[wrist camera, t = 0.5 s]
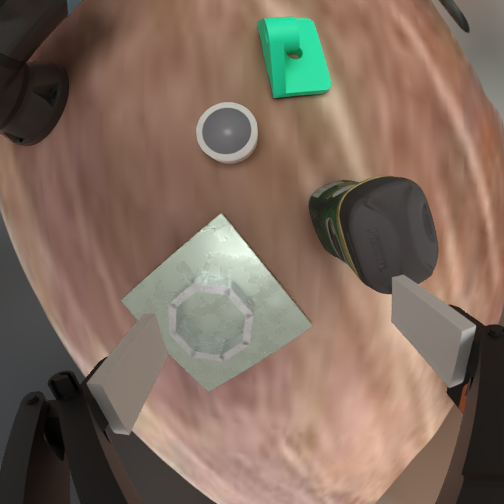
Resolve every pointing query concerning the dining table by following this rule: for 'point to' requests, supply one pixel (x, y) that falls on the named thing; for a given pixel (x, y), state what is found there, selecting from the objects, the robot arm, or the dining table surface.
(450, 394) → the battery
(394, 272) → the coffee jar
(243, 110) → the white short cylinder
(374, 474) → the dining table surface
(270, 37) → the camera mount
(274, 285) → the grey-green flat square piece
